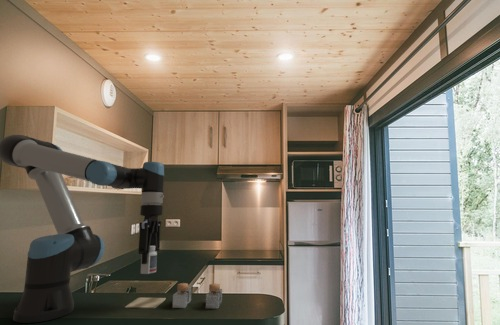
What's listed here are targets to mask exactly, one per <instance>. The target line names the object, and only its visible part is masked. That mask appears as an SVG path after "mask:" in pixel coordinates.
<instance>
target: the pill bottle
mask: <svg viewBox="0 0 500 325" xmlns="http://www.w3.org/2000/svg"><path fill="white" fill-rule="evenodd" d="M149 254H150V269H149V274H154V273H157V265H158V264H157V263H158V252H157V253H156V252H155V246H150V249H149ZM141 257H142V254H140V258H141ZM149 274H148V275H149Z"/></svg>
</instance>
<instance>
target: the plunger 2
mask: <svg viewBox="0 0 500 325" xmlns="http://www.w3.org/2000/svg"><path fill="white" fill-rule="evenodd" d="M220 287H221V285H220V283H210V284H208V292H209V291H213V293H216V291H219V290H220V289H221V288H220Z"/></svg>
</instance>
